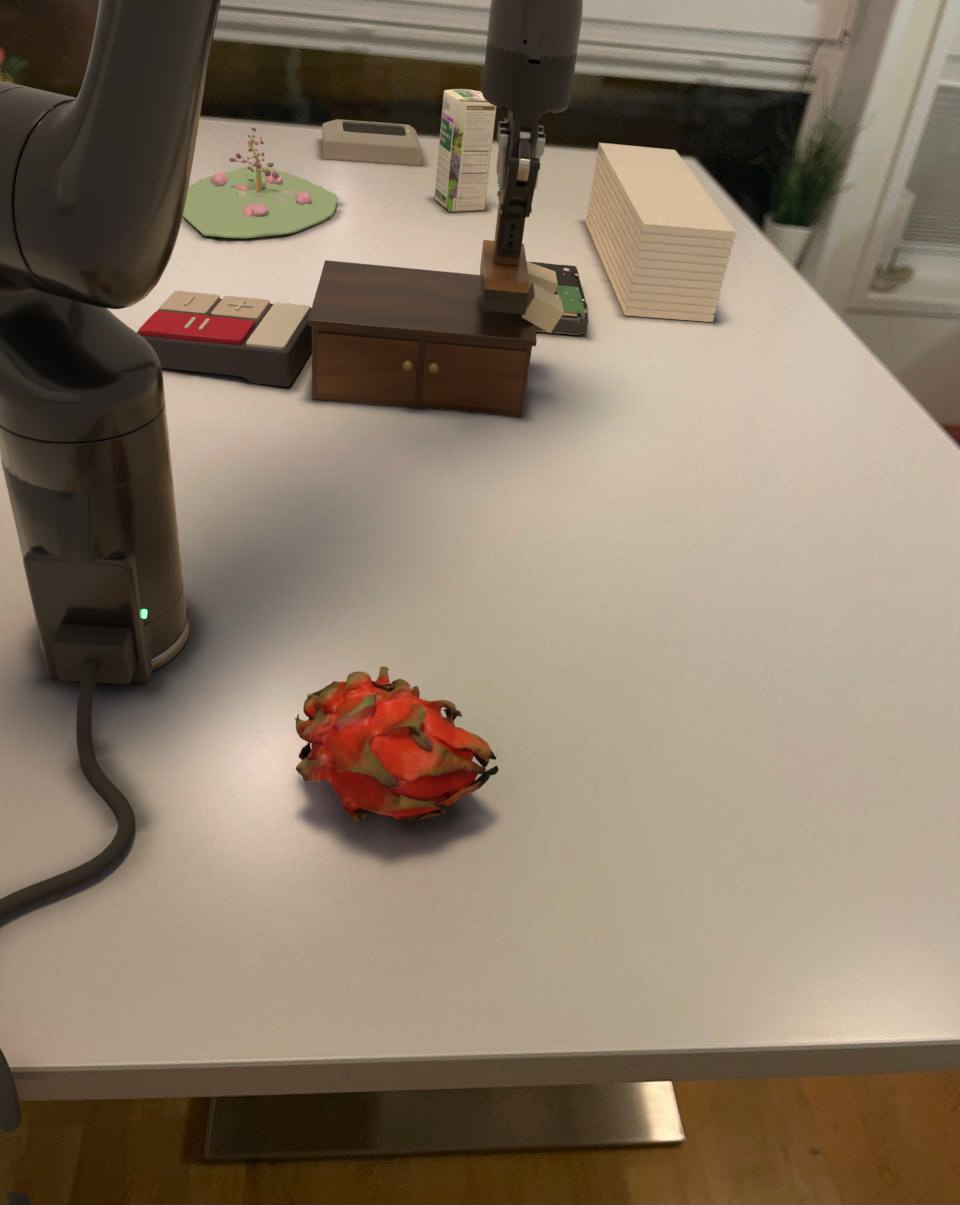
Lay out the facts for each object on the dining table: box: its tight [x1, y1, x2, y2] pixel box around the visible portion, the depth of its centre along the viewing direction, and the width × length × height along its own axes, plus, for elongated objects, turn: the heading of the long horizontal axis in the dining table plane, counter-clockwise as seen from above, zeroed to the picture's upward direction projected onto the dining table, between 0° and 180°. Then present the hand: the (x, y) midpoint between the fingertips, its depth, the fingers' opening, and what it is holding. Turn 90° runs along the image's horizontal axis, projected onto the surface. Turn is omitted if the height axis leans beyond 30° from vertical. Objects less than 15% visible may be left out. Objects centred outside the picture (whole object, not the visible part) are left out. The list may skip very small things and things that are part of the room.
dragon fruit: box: [294, 666, 500, 823], centre depth 58 cm, size 8×8×12 cm
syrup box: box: [434, 88, 497, 213], centre depth 140 cm, size 6×6×14 cm
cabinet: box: [308, 259, 538, 417], centre depth 99 cm, size 15×21×8 cm
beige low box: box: [321, 118, 423, 166], centre depth 158 cm, size 10×4×15 cm
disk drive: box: [529, 261, 589, 336], centre depth 118 cm, size 10×3×15 cm
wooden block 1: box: [527, 261, 558, 294], centre depth 100 cm, size 3×3×2 cm
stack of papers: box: [585, 142, 737, 323], centre depth 129 cm, size 32×11×11 cm, turn 4°
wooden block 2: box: [521, 283, 564, 334], centre depth 95 cm, size 3×3×2 cm
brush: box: [479, 190, 530, 315], centre depth 94 cm, size 10×4×9 cm, turn 1°
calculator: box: [136, 290, 312, 387], centre depth 100 cm, size 11×4×15 cm
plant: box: [183, 127, 338, 239], centre depth 132 cm, size 25×21×9 cm
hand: (507, 249), depth 94 cm, fingers closed on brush, 2 cm apart
